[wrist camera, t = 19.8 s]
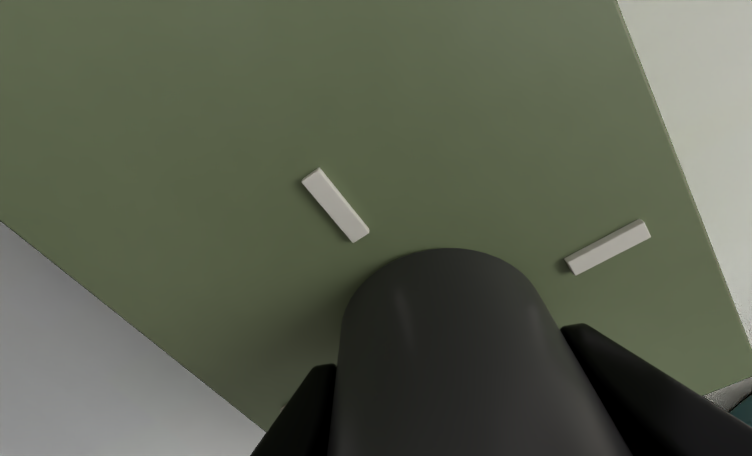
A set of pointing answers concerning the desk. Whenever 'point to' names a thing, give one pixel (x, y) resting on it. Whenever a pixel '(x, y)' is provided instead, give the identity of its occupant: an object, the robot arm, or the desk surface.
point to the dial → (460, 367)
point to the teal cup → (744, 411)
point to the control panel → (350, 172)
